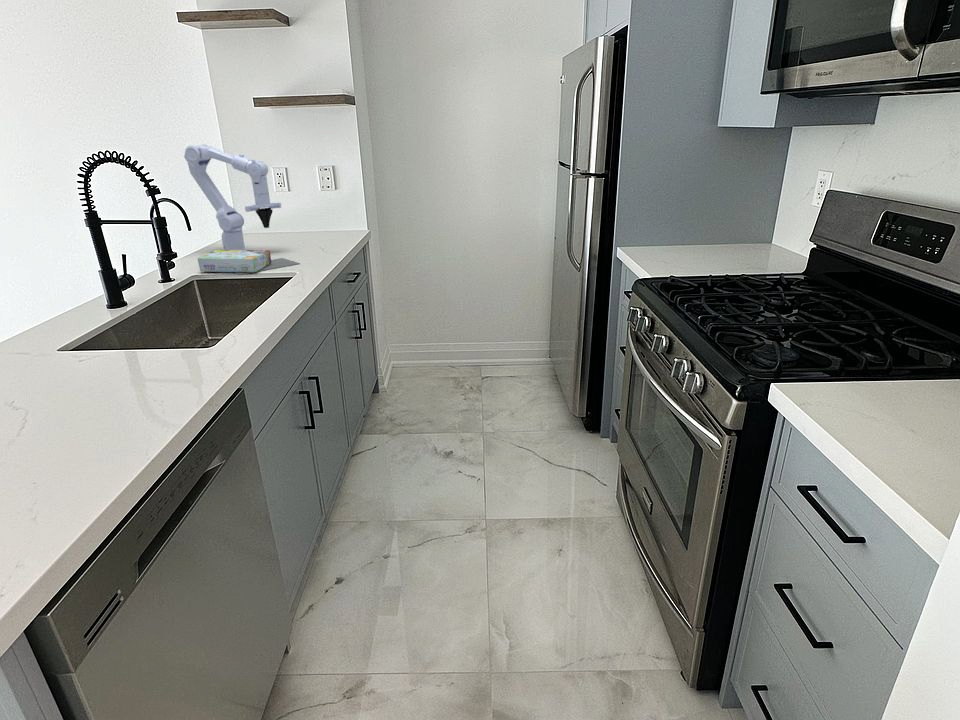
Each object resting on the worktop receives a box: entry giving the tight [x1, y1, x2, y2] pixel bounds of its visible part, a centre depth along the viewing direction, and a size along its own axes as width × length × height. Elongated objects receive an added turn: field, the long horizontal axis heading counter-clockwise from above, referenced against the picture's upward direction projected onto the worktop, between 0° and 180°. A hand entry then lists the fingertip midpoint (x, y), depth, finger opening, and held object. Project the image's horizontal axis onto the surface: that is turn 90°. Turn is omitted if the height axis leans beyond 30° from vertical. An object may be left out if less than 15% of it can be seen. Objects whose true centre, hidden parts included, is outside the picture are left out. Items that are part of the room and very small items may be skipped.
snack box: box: [197, 249, 272, 273], centre depth 231 cm, size 21×6×15 cm
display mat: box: [233, 257, 301, 276], centre depth 235 cm, size 14×24×1 cm, turn 134°
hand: (266, 227), depth 254 cm, fingers closed
